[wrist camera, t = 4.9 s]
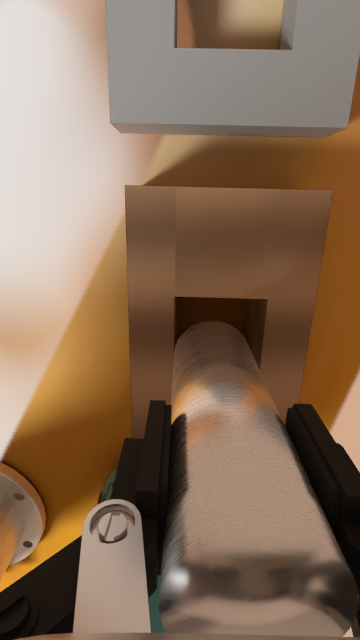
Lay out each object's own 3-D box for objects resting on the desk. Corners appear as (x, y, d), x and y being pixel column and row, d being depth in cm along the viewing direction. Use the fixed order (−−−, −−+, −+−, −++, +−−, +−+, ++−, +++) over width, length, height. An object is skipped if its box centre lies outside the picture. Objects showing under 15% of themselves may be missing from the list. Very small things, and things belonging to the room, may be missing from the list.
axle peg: (245, 390, 19) (340, 672, 8) (173, 388, 19) (158, 667, 8) (252, 321, 18) (378, 539, 6) (174, 319, 18) (159, 533, 6)
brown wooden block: (271, 412, 27) (289, 458, 22) (142, 407, 27) (132, 453, 22) (300, 191, 21) (332, 190, 16) (138, 187, 21) (124, 185, 17)
